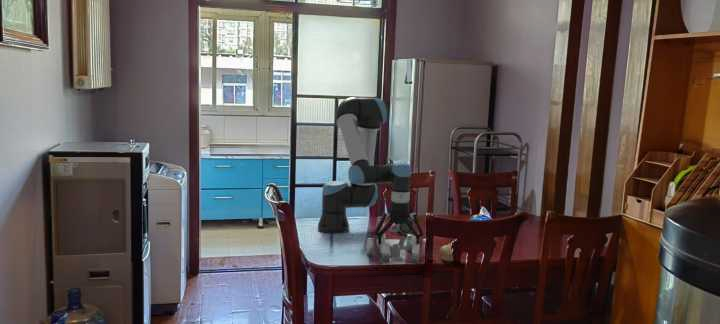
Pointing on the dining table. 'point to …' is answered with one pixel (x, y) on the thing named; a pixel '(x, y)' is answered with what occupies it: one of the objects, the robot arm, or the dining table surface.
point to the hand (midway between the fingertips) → (397, 252)
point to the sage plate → (393, 242)
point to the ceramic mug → (402, 228)
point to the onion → (446, 253)
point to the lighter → (397, 248)
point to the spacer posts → (386, 246)
